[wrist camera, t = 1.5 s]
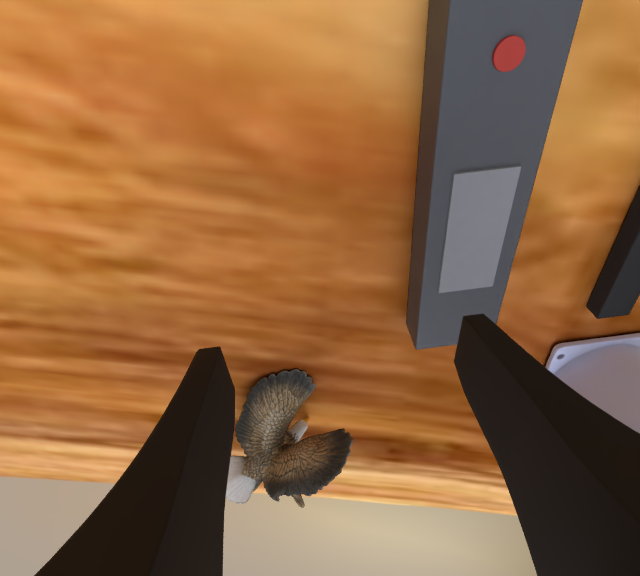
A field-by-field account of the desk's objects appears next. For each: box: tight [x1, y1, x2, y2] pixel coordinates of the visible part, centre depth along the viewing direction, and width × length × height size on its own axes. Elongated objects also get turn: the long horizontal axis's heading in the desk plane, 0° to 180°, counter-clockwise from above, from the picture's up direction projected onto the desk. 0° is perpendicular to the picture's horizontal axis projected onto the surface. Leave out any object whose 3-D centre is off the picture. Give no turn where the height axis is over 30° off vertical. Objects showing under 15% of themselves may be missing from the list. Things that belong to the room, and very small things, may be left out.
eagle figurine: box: [225, 369, 353, 508], centre depth 28 cm, size 8×7×9 cm
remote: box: [406, 0, 583, 350], centre depth 19 cm, size 17×4×2 cm, turn 5°
